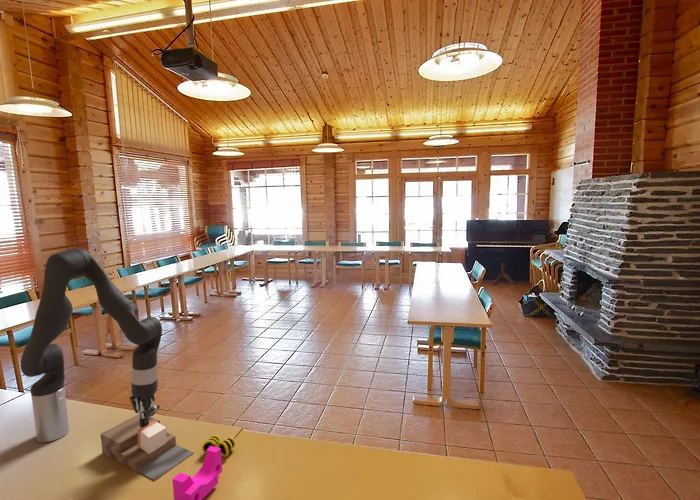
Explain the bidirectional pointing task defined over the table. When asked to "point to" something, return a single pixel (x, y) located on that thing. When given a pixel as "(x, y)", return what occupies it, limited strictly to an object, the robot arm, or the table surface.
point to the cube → (151, 437)
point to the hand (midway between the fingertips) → (144, 426)
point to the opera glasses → (219, 444)
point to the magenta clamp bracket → (199, 478)
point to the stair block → (125, 450)
